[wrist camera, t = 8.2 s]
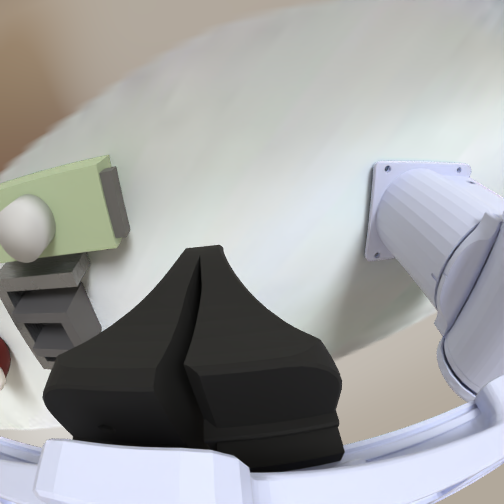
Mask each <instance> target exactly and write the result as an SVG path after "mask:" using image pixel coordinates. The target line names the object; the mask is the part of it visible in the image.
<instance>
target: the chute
mask: <svg viewBox="0 0 504 504" xmlns="http://www.w3.org/2000/svg"><path fill="white" fill-rule="evenodd" d="M12 316H13V318H14V319H15V321H16V323H42V324H43V328H42V330H41V332H40V334H39V336H38V338H37V340H36V342H35V344H34V346H33V348H32V349H33V350H34V352H35V353H36V355H37V356H42V357H57V356H58V355H60V354H62V353H64V352H66V351H68V350H70V349H72V348H74V347H76V346H78V345H80V344H82V343H84V342H86V341H88V340H89V339H91V338H93V337H94V336H96V335H98V334H99V333H100V330H101V325H100V323H99V321H98V318H97V316H96V314H95V312H94V310H93V307H92V305H91V303H90V301H89V298H88V296H87V294H86V291H85V289H84V286H83V284H82V282H81V283H79V285H78V286H77V287H65V288H52V289H38V290H27V291H26V292H25V294H24V295H23V297H22V298H21V300H20V301H19V303H18V304H17V306H16V308H15V309H14V311H13V312H12Z"/></svg>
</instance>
